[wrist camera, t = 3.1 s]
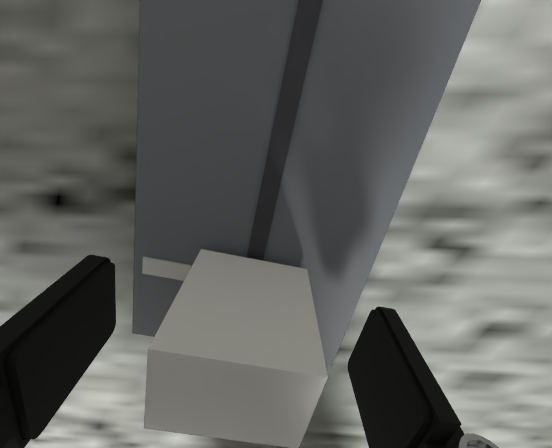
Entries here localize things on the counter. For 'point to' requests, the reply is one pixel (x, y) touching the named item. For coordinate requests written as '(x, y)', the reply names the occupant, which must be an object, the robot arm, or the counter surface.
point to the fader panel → (282, 137)
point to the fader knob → (237, 354)
